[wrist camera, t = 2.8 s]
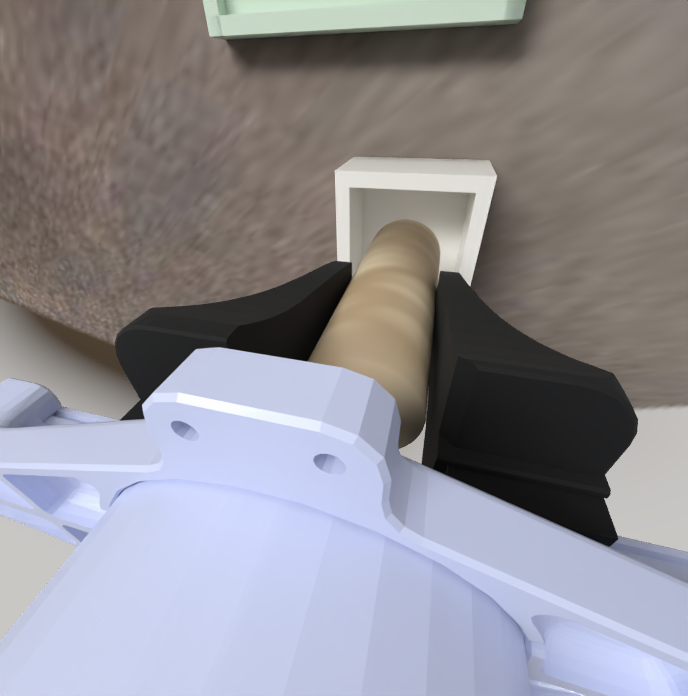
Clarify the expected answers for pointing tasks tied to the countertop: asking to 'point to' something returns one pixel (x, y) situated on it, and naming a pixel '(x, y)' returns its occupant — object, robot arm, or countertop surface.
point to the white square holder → (415, 205)
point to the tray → (351, 16)
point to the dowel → (390, 319)
